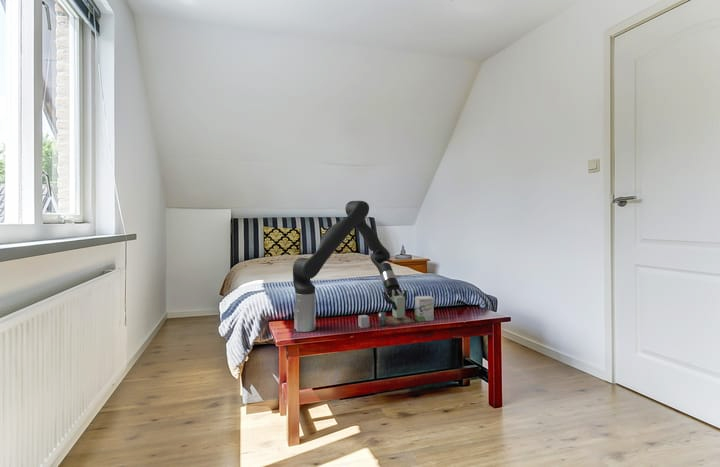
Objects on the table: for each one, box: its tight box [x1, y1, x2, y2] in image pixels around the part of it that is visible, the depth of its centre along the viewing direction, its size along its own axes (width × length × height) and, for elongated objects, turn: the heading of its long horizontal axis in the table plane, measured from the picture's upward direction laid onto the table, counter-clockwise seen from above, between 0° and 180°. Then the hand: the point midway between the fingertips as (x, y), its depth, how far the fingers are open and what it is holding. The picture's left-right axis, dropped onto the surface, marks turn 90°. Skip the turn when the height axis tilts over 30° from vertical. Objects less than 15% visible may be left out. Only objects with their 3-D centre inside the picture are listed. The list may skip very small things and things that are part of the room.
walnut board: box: [386, 315, 416, 326], centre depth 197 cm, size 12×12×1 cm
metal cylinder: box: [377, 311, 387, 327], centre depth 189 cm, size 4×4×6 cm
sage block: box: [391, 295, 406, 318], centre depth 197 cm, size 5×5×10 cm
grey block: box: [357, 314, 370, 329], centre depth 187 cm, size 4×4×5 cm
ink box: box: [414, 295, 435, 322], centre depth 199 cm, size 8×5×12 cm, turn 107°
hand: (400, 309), depth 195 cm, fingers closed on sage block, 4 cm apart
